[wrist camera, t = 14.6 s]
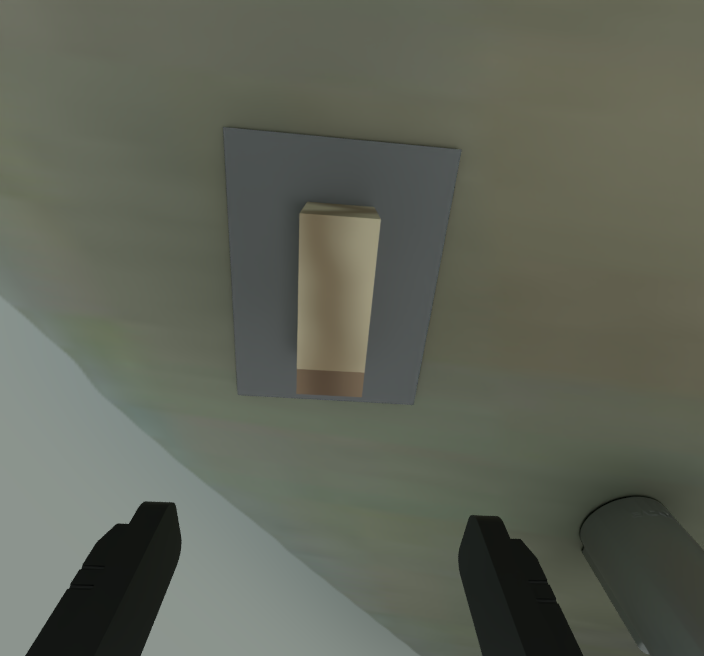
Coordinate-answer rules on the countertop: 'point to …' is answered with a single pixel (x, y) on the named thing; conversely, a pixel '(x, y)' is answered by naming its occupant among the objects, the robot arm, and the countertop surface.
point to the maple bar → (335, 296)
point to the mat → (283, 250)
